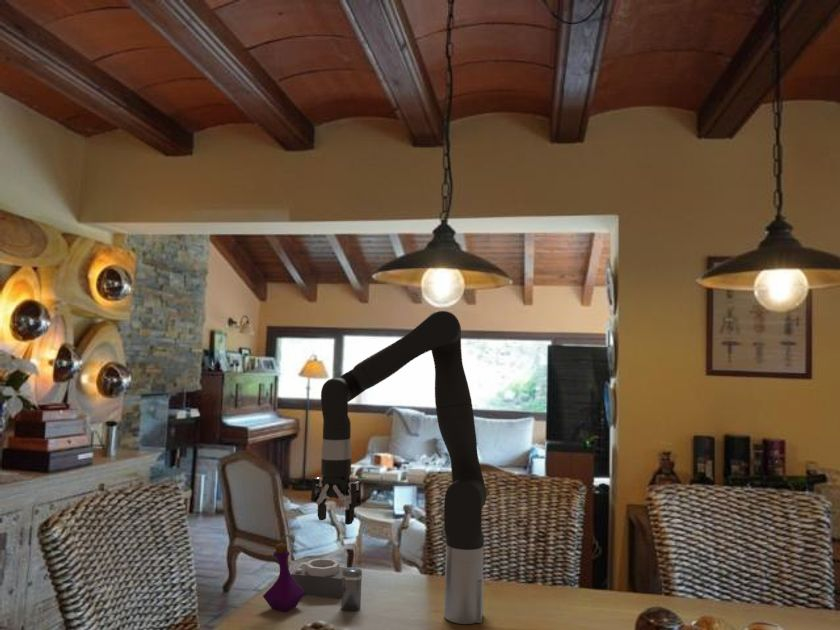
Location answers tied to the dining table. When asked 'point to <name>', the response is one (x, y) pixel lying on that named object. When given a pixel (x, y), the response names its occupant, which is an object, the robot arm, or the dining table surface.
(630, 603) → the dining table surface
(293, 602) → the perfume bottle
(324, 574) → the camera body
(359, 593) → the lens
